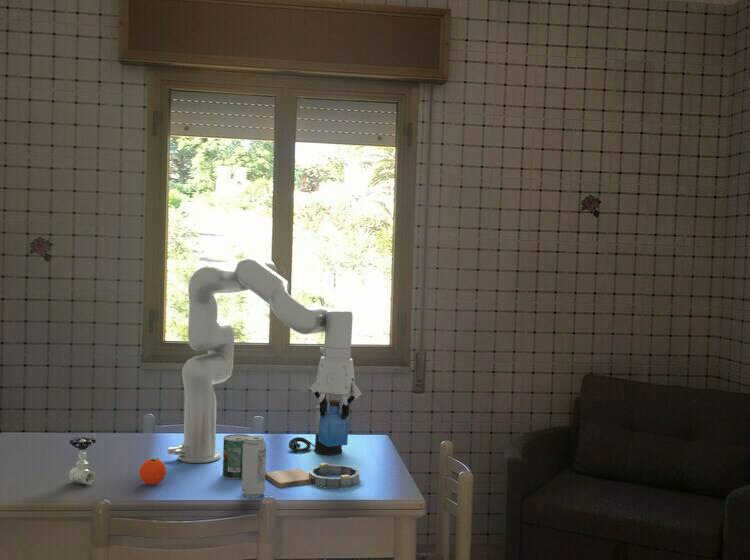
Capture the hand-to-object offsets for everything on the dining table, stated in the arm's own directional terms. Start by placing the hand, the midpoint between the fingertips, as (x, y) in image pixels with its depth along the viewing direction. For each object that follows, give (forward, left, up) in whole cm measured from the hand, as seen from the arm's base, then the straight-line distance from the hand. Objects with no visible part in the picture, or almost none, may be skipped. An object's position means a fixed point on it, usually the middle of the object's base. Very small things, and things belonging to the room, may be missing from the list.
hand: (334, 416), depth 211 cm
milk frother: (+10, +31, -19) cm, 37 cm away
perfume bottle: (0, 0, -8) cm, 8 cm away
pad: (-11, +6, -18) cm, 22 cm away
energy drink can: (-25, -2, -18) cm, 31 cm away
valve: (-63, +25, -18) cm, 70 cm away
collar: (0, 0, -18) cm, 18 cm away
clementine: (-46, +18, -18) cm, 52 cm away
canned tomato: (-23, +15, -18) cm, 33 cm away
